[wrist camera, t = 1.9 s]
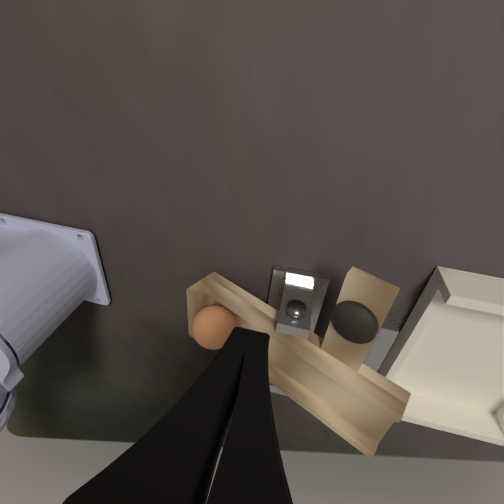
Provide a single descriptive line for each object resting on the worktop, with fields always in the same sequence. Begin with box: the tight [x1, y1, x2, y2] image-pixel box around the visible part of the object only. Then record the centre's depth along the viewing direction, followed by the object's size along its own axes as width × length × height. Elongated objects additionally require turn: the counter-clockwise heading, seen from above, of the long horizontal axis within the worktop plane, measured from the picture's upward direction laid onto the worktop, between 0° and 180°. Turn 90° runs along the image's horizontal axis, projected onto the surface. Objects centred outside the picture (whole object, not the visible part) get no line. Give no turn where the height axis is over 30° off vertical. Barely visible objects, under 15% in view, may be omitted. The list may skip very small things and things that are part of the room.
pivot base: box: [268, 265, 399, 396], centre depth 22 cm, size 9×8×5 cm
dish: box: [378, 266, 504, 446], centre depth 22 cm, size 10×13×3 cm
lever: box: [187, 266, 411, 459], centre depth 19 cm, size 15×11×3 cm
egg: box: [192, 305, 236, 350], centre depth 22 cm, size 3×3×3 cm
